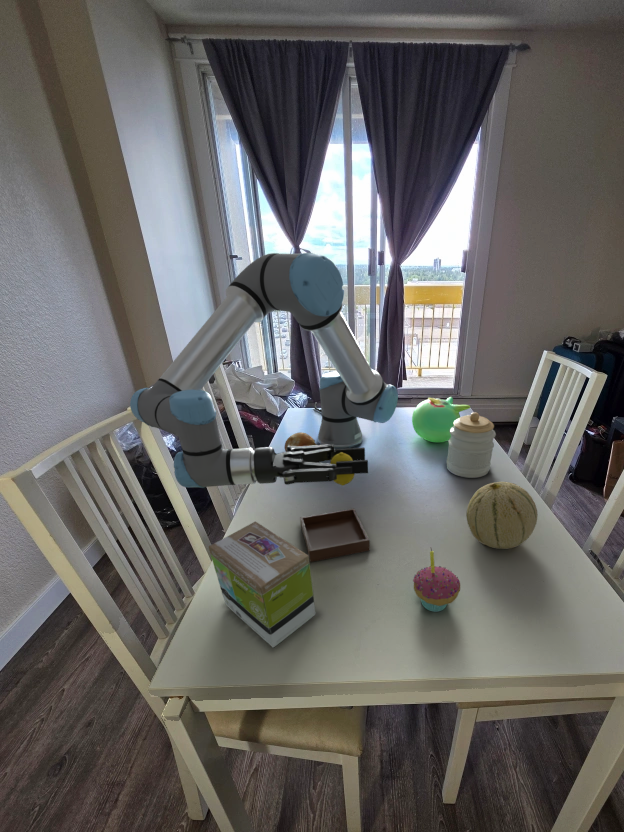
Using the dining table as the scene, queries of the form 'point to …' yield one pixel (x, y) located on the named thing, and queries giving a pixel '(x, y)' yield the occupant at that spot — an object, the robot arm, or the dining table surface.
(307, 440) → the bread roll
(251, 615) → the tea box
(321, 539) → the tray
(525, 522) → the cantaloupe
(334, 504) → the dining table surface
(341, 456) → the lemon
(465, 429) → the jar
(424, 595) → the cupcake
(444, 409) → the toy bird
